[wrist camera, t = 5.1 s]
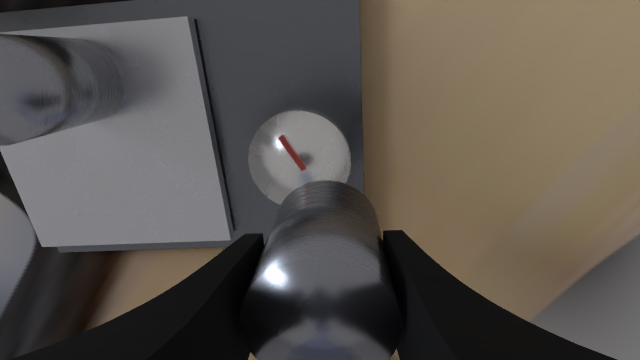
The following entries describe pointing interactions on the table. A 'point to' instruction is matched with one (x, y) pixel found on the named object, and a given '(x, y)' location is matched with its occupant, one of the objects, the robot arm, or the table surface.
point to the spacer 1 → (53, 86)
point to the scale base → (257, 94)
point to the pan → (131, 149)
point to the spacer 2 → (322, 281)
